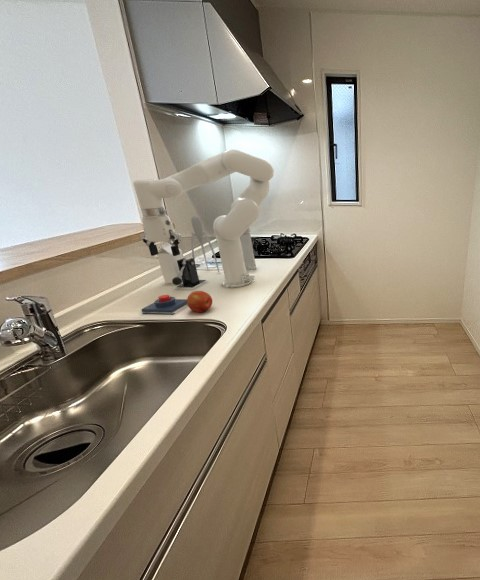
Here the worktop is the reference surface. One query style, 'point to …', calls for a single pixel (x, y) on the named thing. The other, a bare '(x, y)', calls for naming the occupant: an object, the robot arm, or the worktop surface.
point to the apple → (199, 301)
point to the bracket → (189, 274)
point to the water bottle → (247, 250)
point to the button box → (165, 306)
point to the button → (164, 298)
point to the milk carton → (169, 262)
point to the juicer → (200, 237)
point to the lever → (180, 274)
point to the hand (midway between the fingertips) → (165, 255)
